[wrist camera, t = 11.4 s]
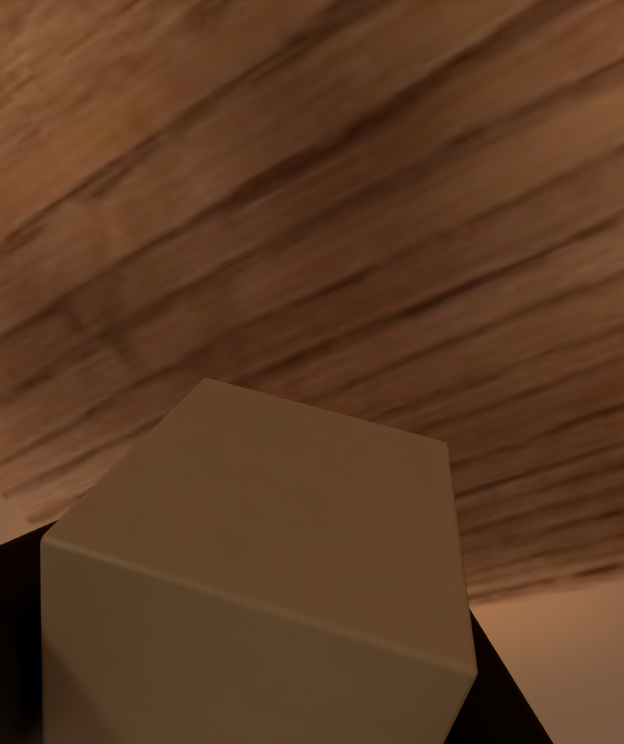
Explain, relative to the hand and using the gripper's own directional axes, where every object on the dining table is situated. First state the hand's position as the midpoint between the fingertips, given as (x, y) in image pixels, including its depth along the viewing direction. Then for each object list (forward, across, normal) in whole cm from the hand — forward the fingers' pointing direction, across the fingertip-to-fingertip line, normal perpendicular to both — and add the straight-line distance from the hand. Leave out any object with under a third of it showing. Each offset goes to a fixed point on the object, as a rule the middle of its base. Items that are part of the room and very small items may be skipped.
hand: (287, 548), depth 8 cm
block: (+1, 0, 0) cm, 1 cm away
